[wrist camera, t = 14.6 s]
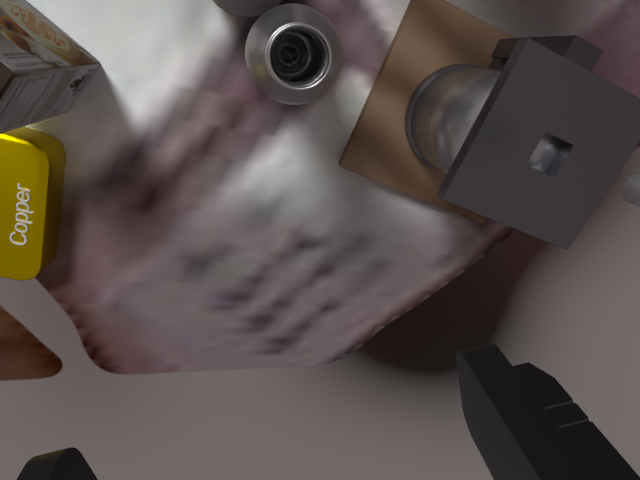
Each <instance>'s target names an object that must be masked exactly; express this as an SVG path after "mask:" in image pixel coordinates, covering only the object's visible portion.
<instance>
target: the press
mask: <svg viewBox="0 0 640 480" xmlns="http://www.w3.org/2000/svg"><path fill="white" fill-rule="evenodd" d="M602 52H603V50H601V49H599V48H598V47H596V46H594V45H592V44H590V43H589V42H587V41H585V40H583V39H581V38H580V37H578V36H576V35H575V36H553V37H530V38H508V39H499V41H498V43H497V45H496V47H495V49H494V51H493V53H492V55H491V57H492V58H493V59H492V61H491V63H490V65H489V67H488V69H486V68H483V67H481V66H478V65H473V64H453V65H448V66H445V67H442V68H440V69H438V70H436V71H434V72H433V73H431V74H430V75H428V76H427V77H426V78H425V79H424V80H423V81H422V82H421V83H420V84H419V85H418V87H417V88H416V89H415V91H414V92H413V94H412V96H411V98H410V100H409V103H408V105H407V109H406V113H405V134H406V138H407V141H408V143H409V146H410V147H411V149H412V151H413V152H414V153H415V155H416V156H417V157H418V158H419V159H420V160H422V161H423V162H424V163H426V164H427V165H429V166H430V167H432V168H434V169H437V170H440V171H442V172H443V173H445V174H446V177H445V179H444V180H443V182H442V184H441V186H440V188H439V190H438V192H437V195H438V196H440V197H441V198H442V199H444V200H446V201H449V202H451V203H454V204H456V205H458V206H461V207H463V208H466V209H468V210H471V211H473V212H476V213H478V214H480V215H483V216H485V217H488V218H490V219H493V220H495V221H498V222H500V223H502V224H505V225H507V226H510V227H512V228H515V229H517V230H520V231H522V232H525V233H527V234H529V235H532V236H534V237H537V238H539V239H541V240H544V241H546V242H549V243H551V244H554V245H556V246H559V247H561V248H564V249H566V250H567V249H568V248H569V246H570V244H571V243H572V242H573V240H574V239H575V237H576V236H577V234H578V233H579V231H580V230H581V228H582V227H583V225H584V224H585V222H586V221H587V219H588V218H589V216H590V215H591V213H592V212H593V210H594V209H595V207H596V206H597V204H598V203H599V201H600V200H601V198H602V197H603V195H604V194H605V192H606V191H607V189H608V188H609V186H610V185H611V183H612V182H613V180H614V179H615V177H616V176H617V175H618V173H619V171H620V170H621V169H622V167H623V166H624V164H625V163H626V161H627V160H628V158H629V157H630V155H631V154H632V152H633V151H634V149H635V148H636V146H637V145H638V143H639V142H640V98H639V97H637V96H635V95H633V94H631V93H629V92H627V91H626V90H624V89H622V88H620V87H618V86H616V85H614V84H613V83H611V82H609V81H607V80H605V79H603V78H602V77H600V76H598V75H596V74H594V73H592V72H591V70H592V69H593V67H594V65H595V64H596V62H597V60H598V59H599V57H600V55H601V54H602Z"/></svg>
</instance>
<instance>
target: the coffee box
mask: <svg viewBox="0 0 640 480" xmlns="http://www.w3.org/2000/svg"><path fill="white" fill-rule="evenodd" d="M99 65H100V62H99V61H98V60H97V59H96V58H94V57H93V56H92V55H91V54H90V53H89V52H87V51H86V50H85V49H84V48H83V47H81V46H80V45H79V44H78V43H77V42H75V41H74V40H73V39H72V38H71V37H69V36H68V35H67V34H66V33H65V32H63V31H62V30H61V29H60V28H59V27H57V26H56V25H55V24H54V23H53V22H51V21H50V20H49V19H48V18H47V17H45V16H44V15H43V14H42V13H41V12H39V11H38V10H37V9H36V8H34V7H33V6H32V5H31V4H30V3H28V2H27V1H26V0H0V134H2V133H5V132H8V131H11V130H14V129H17V128H20V127H23V126H26V125H29V124H32V123H35V122H38V121H41V120H43V119H47V118H50V117H53V116H56V115H59V114H62V113H65V112H67V111H68V110H69V109H70V107H71V106H72V104H73V103H74V101H75V100H76V99H77V97H78V96H79V94H80V93H81V91H82V90H83V89H84V87H85V86H86V84H87V83H88V81H89V80H90V79H91V77H92V76H93V74H94V73H95V71H96V70H97V68H98V67H99Z"/></svg>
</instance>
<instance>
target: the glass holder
mask: <svg viewBox="0 0 640 480" xmlns="http://www.w3.org/2000/svg"><path fill="white" fill-rule="evenodd" d="M213 1H214V2H215V3H216V4H217V5H218V6H220V7H221V8H222V9H224V10H226V11H227V12H229V13H231V14H234V15H237V16H242V17H256V16H260V15H263V14H264V13H265V12H266V11H268V10H270V9H272V8H274V7H276V6H278V5H279V4H280V2H281V1H282V0H213Z"/></svg>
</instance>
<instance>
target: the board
mask: <svg viewBox="0 0 640 480" xmlns="http://www.w3.org/2000/svg"><path fill="white" fill-rule="evenodd" d="M508 38H514V37H512V36H510V35H508V34H506V33H504V32H502V31H501V30H499V29H497V28H495V27H493V26H491V25H489V24H488V23H486V22H484V21H482V20H480V19H478V18H476V17H474V16H473V15H471V14H469V13H467V12H465V11H463V10H461V9H460V8H458V7H456V6H454V5H452V4H450V3H448V2H446V1H445V0H411V1H410V3H409V5H408V8H407V10H406V12H405V14H404V17H403V19H402V21H401V23H400V26H399V28H398V30H397V32H396V35H395V37H394V39H393V41H392V44H391V46H390V48H389V50H388V53H387V55H386V57H385V60H384V62H383V64H382V66H381V69H380V71H379V73H378V75H377V78H376V80H375V82H374V84H373V87H372V89H371V91H370V93H369V96H368V98H367V100H366V103H365V105H364V107H363V109H362V112H361V114H360V116H359V118H358V121H357V123H356V125H355V127H354V130H353V132H352V134H351V136H350V139H349V141H348V143H347V146H346V148H345V150H344V152H343V155H342V157H341V159H340V161H339V165H340V166H341V167H343V168H345V169H348V170H350V171H353V172H355V173H358V174H360V175H363V176H365V177H367V178H370V179H372V180H375V181H377V182H380V183H382V184H385V185H387V186H390V187H392V188H395V189H397V190H400V191H402V192H405V193H407V194H410V195H412V196H415V197H417V198H419V199H422V200H424V201H427V202H429V203H432V204H434V205H437V206H439V207H442V208H444V209H447V210H449V211H452V212H454V213H457V214H459V215H462V216H464V217H466V218H469V219H471V220H474V221H476V222H479V223H481V224H483V222H484V221H485V219H486V217H485V216H483V215H480V214H478V213H476V212H473V211H471V210H468V209H466V208H463V207H461V206H458V205H456V204H454V203H451V202H449V201H446V200H444V199H442V198H441V197H440V196H438V195H437V192H438V190H439V188H440V186H441V184H442V182H443V180H444V179H445V177H446V174H445V173H443V172H442V171H440V170H437V169H434V168H432V167H430V166H429V165H427V164H426V163H424V162H423V161H422V160H420V159H419V158H418V157H417V156H416V155H415V153H414V152H413V151H412V149H411V147H410V146H409V143H408V141H407V138H406V134H405V113H406V109H407V105H408V103H409V100H410V98H411V96H412V94H413V92H414V91H415V89H416V88H417V87H418V85H419V84H420V83H421V82H422V81H423V80H424V79H425V78H426V77H427V76H428V75H430V74H431V73H433V72H434V71H436V70H438V69H440V68H442V67H445V66H448V65H453V64H473V65H478V66H481V67H483V68H486V69H488V67H489V65H490V63H491V61H492V59H493V58H492V57H491V55H492V53H493V51H494V49H495V47H496V45H497V43H498V41H499V39H508Z"/></svg>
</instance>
